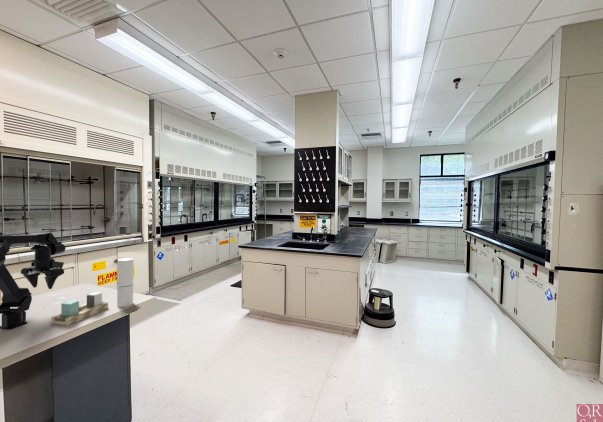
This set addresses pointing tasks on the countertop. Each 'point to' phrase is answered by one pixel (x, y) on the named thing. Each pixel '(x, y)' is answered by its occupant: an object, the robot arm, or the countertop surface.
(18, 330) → the countertop surface
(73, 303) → the teal block
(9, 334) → the countertop surface
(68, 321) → the wooden tray
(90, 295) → the grey rectangular block
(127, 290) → the cylindrical container
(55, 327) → the countertop surface
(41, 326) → the countertop surface
